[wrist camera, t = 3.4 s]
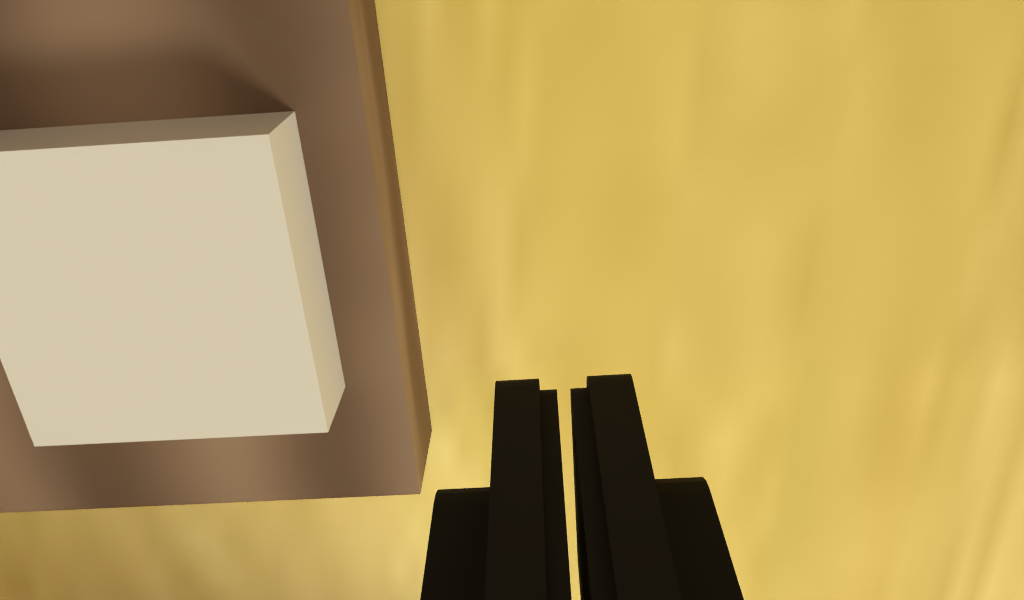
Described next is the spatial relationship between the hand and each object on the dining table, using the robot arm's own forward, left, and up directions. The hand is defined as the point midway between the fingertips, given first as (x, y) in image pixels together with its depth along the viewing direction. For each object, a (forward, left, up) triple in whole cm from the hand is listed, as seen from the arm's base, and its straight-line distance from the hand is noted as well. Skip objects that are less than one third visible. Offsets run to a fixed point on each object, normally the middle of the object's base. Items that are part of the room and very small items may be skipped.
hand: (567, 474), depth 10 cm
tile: (+9, +1, -9) cm, 13 cm away
